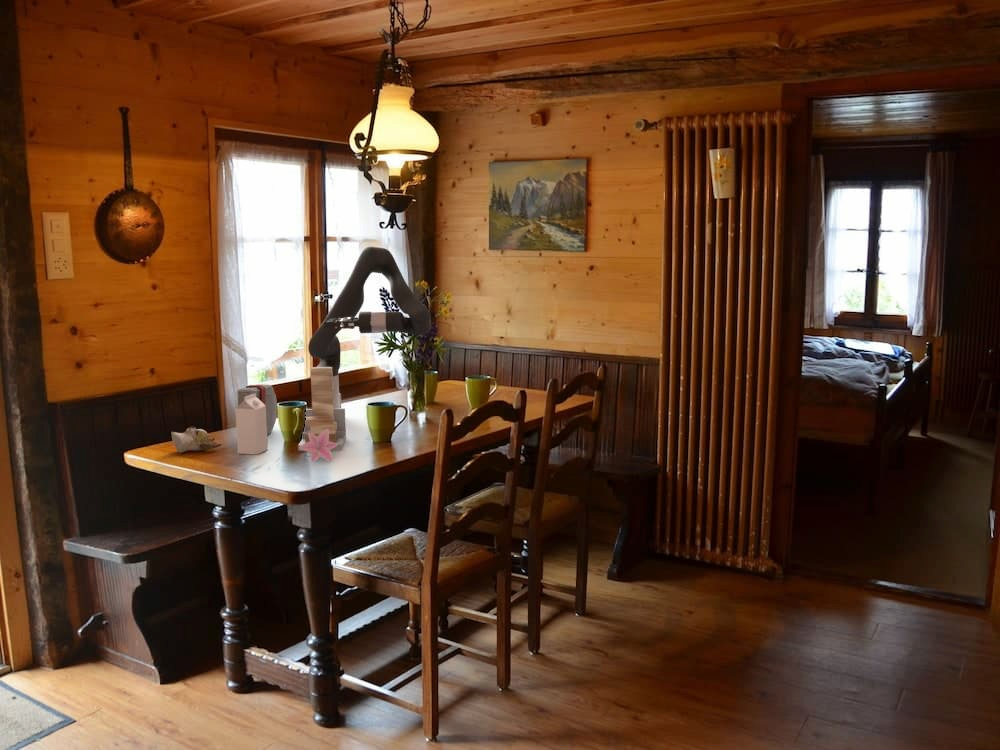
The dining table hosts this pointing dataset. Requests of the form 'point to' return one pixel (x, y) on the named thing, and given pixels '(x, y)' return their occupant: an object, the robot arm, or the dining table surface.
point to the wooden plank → (322, 391)
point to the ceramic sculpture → (193, 440)
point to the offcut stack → (321, 427)
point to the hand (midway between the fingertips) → (326, 323)
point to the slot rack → (341, 427)
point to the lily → (319, 446)
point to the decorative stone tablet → (266, 397)
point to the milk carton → (251, 426)
